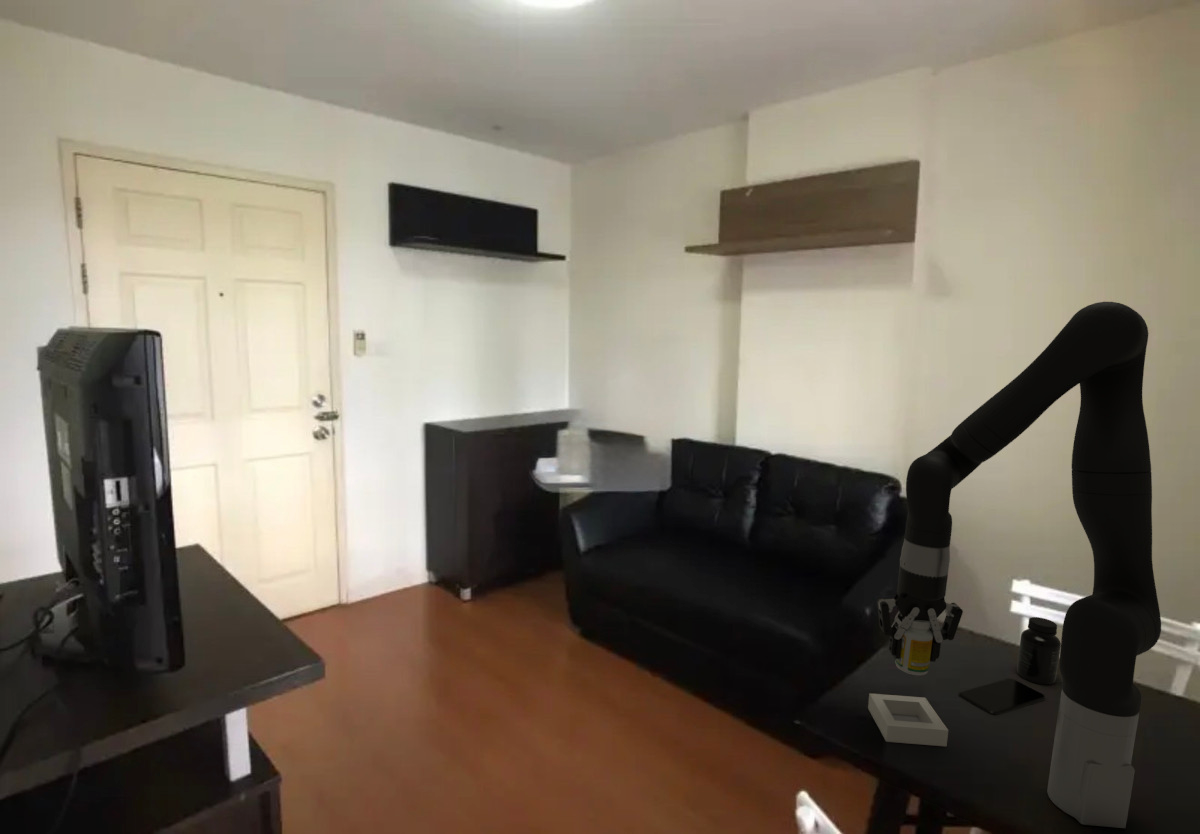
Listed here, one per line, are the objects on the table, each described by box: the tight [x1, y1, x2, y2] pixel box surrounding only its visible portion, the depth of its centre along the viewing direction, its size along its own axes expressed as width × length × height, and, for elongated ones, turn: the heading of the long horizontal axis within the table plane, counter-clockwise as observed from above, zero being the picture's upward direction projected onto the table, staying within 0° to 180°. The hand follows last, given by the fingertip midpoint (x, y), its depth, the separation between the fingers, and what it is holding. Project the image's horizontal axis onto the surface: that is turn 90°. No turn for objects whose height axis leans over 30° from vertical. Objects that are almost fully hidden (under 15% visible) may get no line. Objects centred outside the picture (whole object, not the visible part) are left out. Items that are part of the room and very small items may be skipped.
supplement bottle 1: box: [895, 620, 933, 676], centre depth 117 cm, size 5×5×10 cm
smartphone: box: [958, 677, 1047, 716], centre depth 130 cm, size 8×1×16 cm
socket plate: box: [867, 693, 949, 748], centre depth 119 cm, size 10×10×3 cm
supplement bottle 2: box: [1016, 616, 1061, 686], centre depth 137 cm, size 7×7×12 cm
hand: (913, 657), depth 117 cm, fingers closed on supplement bottle 1, 5 cm apart
